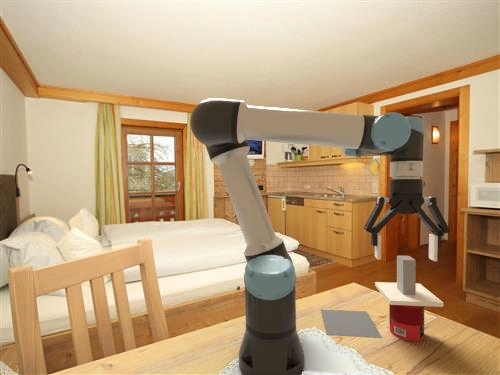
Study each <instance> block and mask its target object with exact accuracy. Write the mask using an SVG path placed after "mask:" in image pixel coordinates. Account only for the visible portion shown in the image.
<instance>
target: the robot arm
mask: <svg viewBox="0 0 500 375" xmlns="http://www.w3.org/2000/svg"><path fill="white" fill-rule="evenodd" d="M189 124H190V126H189V127H190V130H191V133H192V134H193V137H195V140H197V141H199V143H201V144H203V145H204V146H205V149H206V151H207V154H208V157H209V159H210V162H211V163H213V164H214V165H217V167H218V169H219V172H220V174H221V178H222V180H223V183H224V186H225V188H226V191H227V193H228V197H229V199H230V204H231V205H232V208H233V210H234V214H235V216H236V219H237V221H238V222H237V223H238V225H239V227H240V228H239V229H240V230H241V233H242V235H243V238H244V241H245V242H244V243H245V244H246V247H245V250H244V251H243V255H244V258H245V261H246V265H245V268H244V274H243V283H244V301H245V302H244V305H245V308H244V310H245V331H244V334H243V336H242V341H241V343H240V344H241V345H240V347H239V351H238V365H239V369H240V370H241V373H242V374H243V375H302V374H303V372H304V367H305V353H304V349H303V346H302V342H301V339H300V337H299V335H298V331H297V309H296V308H297V307H296V306H297V304H296V303H297V302H296V300H297V299H296V297H297V296H296V283H297V274H296V269H295V265H294V262H293V260H292V257H291V255H290V254H289V253H288V251H287V250H288V249H287V248H286V245H285V242H284V240H283V238H282V237H280V236H277V235H276V232H275V230H274V226H273V225H272V221H271V219H270V215H269V214H268V210H267V208H266V205H265V202H264V199H263V196H262V193H261V190H260V188H259V185H258V182H257V180H256V177H255V174H254V171H253V169H252V166H251V163H250V161H249V158H248V153H249V152H250V149H251V147H250V145H249V144H250V143H249V142H248V140H250V141H260V142H270V143H273V142H274V143H282V144H283V143H284V144H295V145H304V146H305V145H306V146H307V145H308V146H318V147H326V148H327V147H328V148H330V147H331V148H340V149H342V153H343V155H344V156H346V157H354V158H358V157H381V156H382V157H387V156H389V177H390V178H391V179H390V180H389V195H388V197H384V196H377V197H376V201H375V202H376V203H375V205H374V207H373V209H372V210H371V213H370V215H369V217H368V219H367V220H366V222H365V224H364V226H363V229H364V231H366V232H367V233H370V244H371V245H372V247H374V258H376V259H377V261H379V260H382V235H381V233H380V231H382V230H383V228H384V227H385V226H386V225H387V224H388V223H389V222H390V221H391V220H392V219H393V218H394V217H395V216H397V215H398V214H399V215H406V214H409V215H414V214H415V215H416V216H417V217H418V218H419V219H420V220H421V222H422V223H423V224H424V225H425V226H426V227H427V229H429V230H430V231H431V232H432V233H429V234H428V259H429V260H431V261H433V262H438V249H440V248H441V246H442V237H443V236H444V235H445V234H449V233H450V232H451V230H450V228H449V226H448V224H447V222H446V220H445V218H444V215H442V212H441V210H440V208H439V206H438V203H437V197H435V196H429V195H428V196H426V197H424V196H423V190H424V180H423V179H421V178H422V177H423V176H424V139H425V131H424V130H425V129H424V128H425V127H424V120H423V119H422V118H421V117H419V116H405V115H403V114H401V113H400V112H393V111H392V112H387V113H383V114H381V115H370V114H355V113H344V112H342V113H341V112H331V111H330V112H329V111H320V110H307V109H305V110H304V109H293V108H282V107H281V108H280V107H270V106H269V107H268V106H259V105H258V106H255V105H249V104H247V103H246V102H245V100H240V99H231V98H230V99H229V98H228V99H227V98H217V97H214V98H207V99H205V100H202V101H200V102H199V103H198V104H196V106H194V108H193V110H192V112H191V115H190V119H189ZM387 203H388V204H389V205H390V207H389V208H388V209H387V210H386V212H385V213H384V215H382V216H381V217H380V219H379V220H378V218H379V216H380V214H381V212H382V211H383V209H384V206H386V205H387ZM423 204H425V205H426V206H427V208H428V210H429V212H430V214H431V217H432V218H433V219H434V221H435V222H434V221H433V220H432V219H431V218H430V217H429V215H427V214H426V212H425V210H424V209H422V206H423ZM376 221H377V222H376Z"/></svg>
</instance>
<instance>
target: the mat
mask: <svg viewBox="0 0 500 375" xmlns="http://www.w3.org/2000/svg"><path fill="white" fill-rule="evenodd" d="M319 311H320V313H321V314H320V315H321V318H322V322H323V325H324V329H325V334H326V336H338V337H354V338H357V337H358V338H359V337H360V338H374V339H376V338H377V339H383V336H382V335H381V333H380V332H379V330H378V328H377V326H376V324H375V323H374V322H373V321H374V320H372V318H371V315H370V314H369V312H368V311H363V310H342V309H341V310H338V309H319Z"/></svg>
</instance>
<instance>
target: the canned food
mask: <svg viewBox="0 0 500 375" xmlns="http://www.w3.org/2000/svg"><path fill="white" fill-rule="evenodd" d="M388 304H389V309H388V310H389V332H390V333H391V335H393V336H395V337H396V338H398V339H401V340H403V341H407V342H416V343H417V342H421V341H423V340H424V339H425V306H410V305H390V303H389V302H388Z"/></svg>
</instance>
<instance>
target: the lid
mask: <svg viewBox="0 0 500 375" xmlns="http://www.w3.org/2000/svg"><path fill="white" fill-rule="evenodd" d="M416 261H417V260H416V259H414V258H413V257H411V256H410V255H397V256H396V282H386V281H385V282H383V281H382V282H381V281H374V286H375V287H376V289H377V290H378V291H379V293H381V295H382V296H383V297H384V298H385V300H386V301H387V302H388V304H389V303H390V305H410V306H424V307H436V308H437V307H439V308H440V307H441V308H443V307H444V305H445V304H444V302H443V301H442V300H441V299H439V297H437V296H436V295H435V294H433V293H432V292H431V291H430V290H428V289H427V288H426V287H425V286H424V285H423V284H421V283H420V282H419V283H417V282H416V280H417V279H416V278H417V277H416V275H417V274H416V267H417V265H416V264H417V262H416Z"/></svg>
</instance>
